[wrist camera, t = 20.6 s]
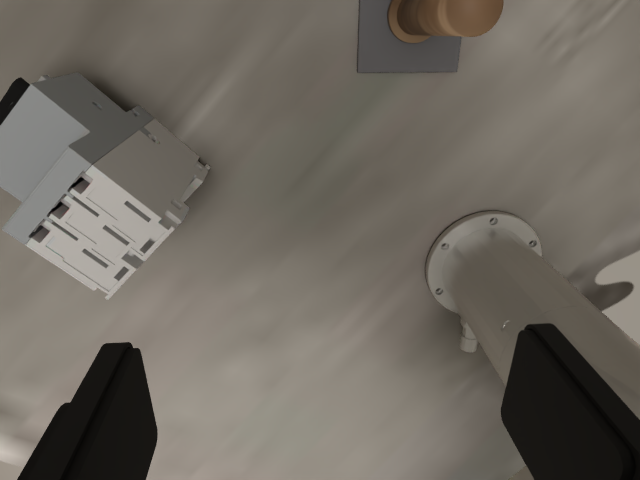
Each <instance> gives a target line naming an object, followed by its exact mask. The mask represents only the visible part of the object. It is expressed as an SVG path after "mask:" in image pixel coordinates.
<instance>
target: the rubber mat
mask: <svg viewBox="0 0 640 480" xmlns="http://www.w3.org/2000/svg"><path fill="white" fill-rule="evenodd" d="M390 2H391V0H359V25H358V57H357V72H358V73H368V72H457V68H458V60H459V52H460V44H461V36H430V37H429V38H428V39H426V40H424V41H422V42H419V43H407V42H403V41H401V40H399V39H397V38H396V37H395V36H394V35H393V33H392V32H391V30H390V28H389V26H388V21H387V11H388V7H389V4H390Z"/></svg>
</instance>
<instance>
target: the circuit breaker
mask: <svg viewBox="0 0 640 480" xmlns="http://www.w3.org/2000/svg"><path fill="white" fill-rule="evenodd" d="M198 159H199V156H198V155H196V154H195V153H194V152H193V151H192V150H191V149H189V148H188V147H187V146H186V145H185V144H184V143H182V142H181V141H180V140H179V139H178V138H177V137H176V136H174V135H173V134H172V133H171V132H170V131H169V130H167V129H166V128H165V127H164V126H163V125H162V124H160V123H159V122H158V121H157V120H156V119H155V118H153V117H152V116H151V115H150V114H149V113H148V112H146V111H145V110H144V109H143V108H142V107H141V106H139V105H138V106H136V107H135V108H133V109H132V110H129V111H128V112H125V111H124V110H122V109H121V108H120V107H119V106H118V105H117V104H115V103H114V102H113V101H112V100H111V99H109V98H108V97H107V96H106V95H105V94H103V93H102V92H101V91H100V90H99V89H97V88H96V87H95V86H94V85H93V84H92V83H90V82H89V81H88V80H87V79H86V78H84V77H83V76H82V75H81V74H80V73H78V72H76V73H72V74H68V75H64V76H60V77H55V78H50V77H49V76H48V75H44V76H42V77H41V78H40V79H39V81H38V82H35V83H32V84H31V85H30V84H28V83H27V82H26V81H25V80H23V79H22V78H18V79H16V80H15V81H14V82H13V83H12V85H11V86H10V88H9V90H8V91H7V93H6V94H5V96H4V97H3V99H2V100H1V102H0V187H1V188H3V189H4V190H6V191H7V192H8V193H10V194H11V195H13V196H14V197H16V198H17V199H18V200H20V201H21V202H23V203H22V204H21V205H20V206H19V208H18V209H17V210H16V211H15V213H14V214H13V215H12V216H11V218H10V219H9V220H8V221H7V223H6V224H5V225H4V226H3V228H2V230H3V231H5V232H6V233H8V234H9V235H11V236H12V237H14V238H15V239H17V240H18V241H20V242H21V243H23V244H24V245H25V244H26V246H27V247H29V248H30V249H32V250H33V251H35V252H36V253H38V254H39V255H41V256H42V257H44V258H45V259H47V260H48V261H50V262H51V263H53V264H54V265H56V266H57V267H59V268H60V269H62V270H63V271H65V272H66V273H68V274H70V275H71V276H73V277H74V278H76V279H77V280H79V281H80V282H82V283H83V284H85V285H86V286H88V287H89V288H91V289H92V290H94V291H95V290H96V289H97V288H99V289H101V290H102V291H104V292H105V293H107V295H106V297H105V298H106V299H107V300H108V299H109V298H110V297H111V296H112V295H113V294H114V293H115V292H116V291H117V290H118V289H119V288H120V287H121V286H122V285H123V283H124V282H125V281H126V280H127V279H128V278H129V277H130V276H131V275H132V274H133V273H134V272H135V271H136V270H137V269H138V268H139V267H140V266H141V264H142V263H143V262H144V261H145V260H146V259H147V258H148V257H149V256H150V255H151V254H152V253H153V252H154V251H155V250H156V249H157V248H158V246H159V245H160V244H161V243H162V242H163V241H164V240H165V239H166V238H167V237H168V236H169V235H170V234H171V233H172V231H173V230H174V229H175V228H176V227H177V226H178V225H179V224H180V223H181V222H182V221H183V220H184V219H185V217H186V215H187V213H188V211H189V209H190V208H189V207H188V206H187V205H186V204H184V202H185V201H186V200H187V199H188V198H189V196H190V195H191V194H192V193H193V192H194V191H195V190H196V189H197V188H198V187H199V186H200V185H201V184H202V183H203V181H204V179H205V177H206V175H207V173H208V170H209V169H210V166H209V165H208V164H206V165H205V166H203V165H202V164H201V163H200V162H199V161H198Z"/></svg>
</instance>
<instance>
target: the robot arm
mask: <svg viewBox="0 0 640 480" xmlns="http://www.w3.org/2000/svg"><path fill="white" fill-rule="evenodd" d="M491 218H492V219H491ZM490 219H491V220H490ZM442 244H443V245H442ZM426 279H427V284H428V286H429V288H430V290H431V293H432V294H433V296H434V297H435V299H436V300H437V301H438V302H439V303H440V304H441V305H442V306H443V307H445V308H446V309H448V310H450V311H452V312H455V313H457V314H459V315H460V317H461V320H460V323H461V325H462V326H463V330H462V333H461V338H460V344H459V347H460V349H462V350H463V351H465V352H471V353H472V352H475V351H476V350H477V345H478V342H479V344H480V345H481V347H482V349H483V350H484V352H485V353H486V355H487V357H488V358H489V360H490V362H491V363H492V365H493V367H494V368H495V370H496V371H497V373H498V375H499V376H500V378H501V380H502V381H503V383H504V385H505V386H506V389H505V394H504V398H503V402H502V407H501V417H502V421H503V423H504V425H505V427H506V429H507V431H508V433H509V435H510V436H511V438H512V440H513V442H514V444H515V446H516V447H517V449H518V451H519V453H520V455H521V456H522V458H523V460H524V462H525V464H526V466H525V467H524V468H523V469H521V470H520V471H519V472H517V473H516V474H515V475H513V476H512V477H511V478H510V479H508V480H640V345H638V344H637V343H636V342H635V341H634V340H633V339H631V338H630V337H629V336H628V335H627V334H625V333H624V332H623V331H622V330H621V329H620V328H619V327H617V326H616V325H615V324H614V323H613V322H612V321H611V320H610V319H609V318H607V316H606V315H604V314H603V313H602V312H601V311H600V310H599V309H598V308H597V307H596V306H595V305H593V304H592V303H591V302H590V301H589V300H588V299H587V298H586V297H585V296H584V295H582V294H581V293H580V292H579V291H578V290H577V289H576V288H575V287H574V286H572V285H571V284H570V283H569V282H568V281H567V280H566V279H565V278H564V277H563V276H561V275H560V274H559V273H558V272H557V271H556V270H555V269H554V268H553V267H552V266H550V265H549V264H548V263H547V262H546V261H545V260H544V259H543V258H542V247H541V244H540V241H539V238H538V236H537V234H536V233H535V231H534V230H533V229H532V228H531V227H530V226H529V225H528V224H527V223H526V222H524V221H523V220H522V219H520V218H519V217H517V216H515V215H512V214H510V213H506V212H501V211H485V212H479V213H475V214H472V215H469V216H466V217H464V218H462V219H461V220H459V221H457V222H455V223H454V224H452V225H451V226H450V227H449V228H447V229H446V230H445V231H444V232H443V233H442V234H441V235H440V236H439V237H438V239H437V240H436V242H435V243H434V245H433V246H432V248H431V250H430V253H429V255H428V258H427V263H426ZM156 443H157V426H156V421H155V416H154V412H153V407H152V402H151V398H150V393H149V388H148V384H147V379H146V374H145V370H144V365H143V360H142V356H141V352H140V349H139V348H133V346H132V344H131V343H129V342H126V343H106V344H104V345H103V346H102V347H101V349H100V351H99V352H98V354H97V356H96V358H95V360H94V361H93V363H92V365H91V367H90V369H89V370H88V372H87V374H86V376H85V377H84V379H83V381H82V383H81V385H80V386H79V388H78V390H77V392H76V393H75V395H74V397H73V399H72V401H71V402H70V403H65V404H63V405H62V406H61V407H60V408H59V409H58V411H57V412H56V414H55V415H54V417H53V419H52V421H51V422H50V424H49V426H48V428H47V429H46V431H45V433H44V434H43V436H42V438H41V440H40V441H39V443H38V445H37V446H36V448H35V450H34V452H33V453H32V455H31V457H30V458H29V460H28V462H27V464H26V465H25V467H24V469H23V471H22V472H21V474H20V476H19V477H18V479H17V480H146V477H147V474H148V470H149V467H150V464H151V460H152V457H153V454H154V450H155V447H156Z"/></svg>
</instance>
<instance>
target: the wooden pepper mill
mask: <svg viewBox="0 0 640 480" xmlns="http://www.w3.org/2000/svg"><path fill="white" fill-rule="evenodd" d="M502 9H503V0H391V2H390V4H389V7H388V11H387V21H388V26H389V28H390V30H391V32H392V33H393V35H394V36H395V37H396V38H397V39H399V40H401V41H403V42H407V43H419V42H422V41H424V40H426V39H428V38H429V37H430V36H464V37H474V36H479V35H482V34H484V33H486V32H487V31H489V30H490V29H491V28H492V27H493V26H494V25H495V24H496V22H497V21H498V19H499V17H500V15H501V12H502Z"/></svg>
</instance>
